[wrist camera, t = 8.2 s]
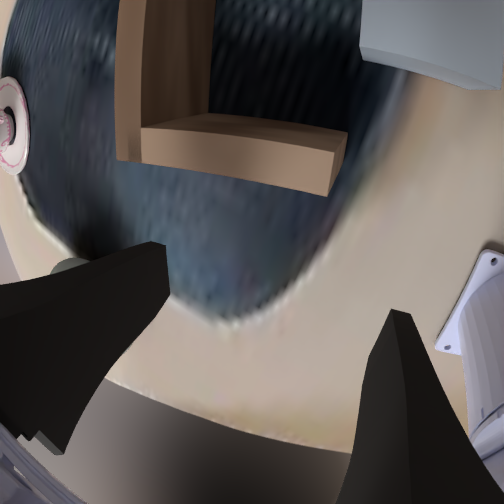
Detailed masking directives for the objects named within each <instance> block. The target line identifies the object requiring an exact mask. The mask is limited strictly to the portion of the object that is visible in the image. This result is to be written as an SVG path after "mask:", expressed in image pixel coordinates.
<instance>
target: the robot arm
mask: <svg viewBox="0 0 504 504" xmlns="http://www.w3.org/2000/svg"><path fill="white" fill-rule="evenodd" d="M493 258H496V260H495V261H494V262H491V260H492V259H493ZM169 295H170V287H169V277H168V266H167V255H166V245H162V244H159V243H156V242H152V241H150V242H146V243H142V244H139V245H135V246H132V247H129V248H127V249H124V250H121V251H118V252H115V253H112V254H110V255H107V256H104V257H101V258H99V259H96V260H93V261H90V262H87V263H85V264H82V265H79V266H76V267H73V268H70V269H67V270H64V271H61V272H57V273H54V274H50V275H47V276H43V277H39V278H35V279H30V280H25V281H20V282H15V283H9V284H3V285H0V504H52V503H53V504H88V503H87V502H85V501H84V500H83V499H82V498H80V497H79V496H78V495H76V494H75V493H74V492H73V491H71V490H70V489H69V488H68V487H66V486H65V485H64V484H63V483H61V482H60V481H59V480H58V479H57V478H56V477H55V476H53V475H52V474H51V473H50V472H49V471H48V470H47V469H46V468H45V467H43V466H42V465H41V464H40V463H39V462H38V461H37V460H36V459H35V458H34V457H33V456H32V455H31V454H30V453H29V452H28V451H27V450H26V449H25V448H24V447H23V446H22V445H21V444H20V443H19V442H18V441H17V440H16V439H17V438H18V437H19V436H20V435H21V434H22V435H23V436H24V437H25V438H26V439H27V440H28V441H30V440H31V439H32V438H33V437H35V438H37V439H38V440H39V441H40V442H41V443H42V444H43V445H44V446H45V447H46V448H47V449H48V450H49V451H51V452H52V453H53V454H54V455H63V454H64V453H65V450H66V447H67V445H68V443H69V440H70V438H71V436H72V433H73V431H74V429H75V427H76V424H77V423H78V421H79V419H80V417H81V415H82V413H83V411H84V409H85V407H86V406H87V404H88V402H89V401H90V399H91V397H92V396H93V394H94V392H95V391H96V389H97V388H98V386H99V385H100V383H101V382H102V380H103V379H104V377H105V376H106V374H107V373H108V371H109V370H110V368H111V367H112V366H113V365H114V363H115V362H116V361H117V360H118V359H119V357H120V356H121V355H122V354H123V353H124V352H125V351H126V349H127V348H128V347H129V346H130V345H131V344H132V343H133V342H134V341H135V339H136V338H137V337H138V336H139V335H140V334H141V333H142V332H143V330H144V329H145V328H146V327H147V326H148V325H149V324H150V322H151V321H152V320H153V319H154V318H155V317H156V315H157V314H158V312H159V311H160V309H161V308H162V306H163V305H164V303H165V302H166V300H167V299H168V297H169ZM446 345H449V346H446ZM435 348H436V350H439V351H443V352H447V353H452V354H457V355H461V356H462V362H463V369H464V377H465V386H466V396H467V408H468V425H469V438H468V437H467V435H466V433H465V431H464V429H463V427H462V425H461V424H460V422H459V420H458V418H457V416H456V414H455V412H454V410H453V409H452V407H451V405H450V402H449V400H448V398H447V396H446V394H445V392H444V390H443V388H442V386H441V383H440V381H439V379H438V377H437V374H436V372H435V370H434V367H433V365H432V363H431V361H430V358H429V356H428V354H427V351H426V349H425V346H424V344H423V342H422V339H421V337H420V335H419V332H418V330H417V327H416V325H415V323H414V321H413V318H412V316H411V314H409V313H406V312H402V311H398V310H394V309H391V310H390V312H389V315H388V317H387V319H386V321H385V324H384V326H383V328H382V330H381V332H380V334H379V336H378V339H377V341H376V343H375V345H374V347H373V349H372V351H371V353H370V355H369V357H368V362H367V367H366V371H365V375H364V380H363V384H362V391H361V399H360V406H359V414H358V421H357V427H356V434H355V440H354V446H353V451H352V455H351V459H350V464H349V467H348V470H347V473H346V476H345V479H344V482H343V485H342V488H341V491H340V493H339V496H338V499H337V501H336V504H504V254H502V253H499V252H496V251H493V250H490V249H485V250H483V251H482V252H481V253H480V255H479V258H478V260H477V262H476V265H475V267H474V269H473V271H472V273H471V276H470V278H469V280H468V282H467V284H466V286H465V288H464V290H463V292H462V294H461V296H460V298H459V300H458V302H457V304H456V306H455V308H454V310H453V311H452V313H451V315H450V317H449V319H448V320H447V322H446V324H445V326H444V328H443V329H442V331H441V333H440V334H439V336H438V338H437V339H436V341H435ZM14 466H15V467H16V468H17V469H18V470H19V471H20V472H21V473H22V474H23V475H24V476H25V477H26V478H24V477H23V476H22V475H20V474H19V473H18V472H16V471H15V470H14Z"/></svg>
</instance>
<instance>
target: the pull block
mask: <svg viewBox="0 0 504 504" xmlns="http://www.w3.org/2000/svg"><path fill="white" fill-rule="evenodd" d="M359 47H360V50H361V54H362V58H363V60H365V61H370V62H375V63H380V64H384V65H389V66H393V67H397V68H401V69H405V70H408V71H412V72H416V73H419V74H423V75H426V76H429V77H433V78H436V79H439V80H442V81H445V82H448V83H451V84H454V85H456V86H459V87H462V88H465V89H467V90H501V83H502V73H503V60H504V0H363V5H362V20H361V33H360V44H359Z"/></svg>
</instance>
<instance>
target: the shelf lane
mask: <svg viewBox="0 0 504 504" xmlns="http://www.w3.org/2000/svg"><path fill="white" fill-rule="evenodd" d="M215 6H216V0H120V4H119V14H118V25H117V38H116V56H115V134H116V154H117V160H122V161H130V162H138V163H146V164H153V165H161V166H168V167H174V168H181V169H188V170H194V171H200V172H206V173H212V174H218V175H224V176H229V177H235V178H240V179H246V180H251V181H256V182H261V183H266V184H271V185H276V186H281V187H286V188H290V189H295V190H300V191H304V192H309V193H313V194H317V195H322V196H326V197H327V196H328V193H329V191H330V189H331V187H332V185H333V183H334V181H335V178H336V176H337V174H338V172H339V170H340V168H341V166H342V163H343V160H344V154H345V148H346V142H347V136H348V133H347V132H342V131H338V130H333V129H327V128H322V127H317V126H311V125H305V124H299V123H293V122H286V121H279V120H272V119H265V118H256V117H248V116H238V115H227V114H215V113H208V106H209V87H210V70H211V55H212V41H213V29H214V17H215Z"/></svg>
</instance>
